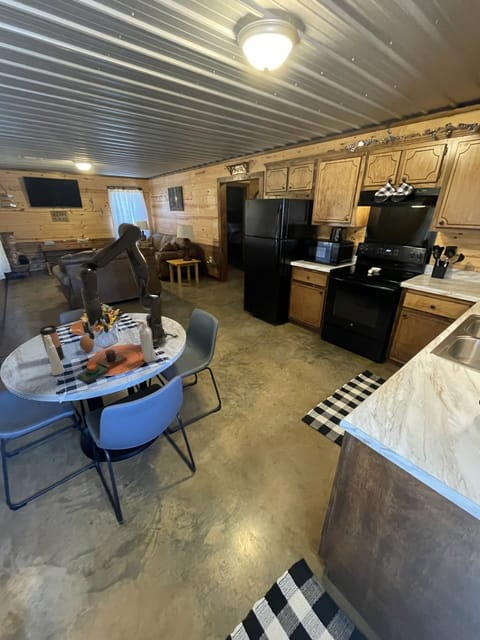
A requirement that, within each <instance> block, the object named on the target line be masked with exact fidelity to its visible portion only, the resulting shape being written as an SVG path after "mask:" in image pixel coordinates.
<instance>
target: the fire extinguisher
mask: <svg viewBox="0 0 480 640" xmlns="http://www.w3.org/2000/svg"><path fill="white" fill-rule="evenodd" d="M134 323H136V324H137V326H136V329H137V331H138V335H139V339H140V340H139V341H140V346H141V353H142V359H143V362H145V363H150V362H151V363H152V362H153V361H155V362H156V361H158V360H159V358H158V356H157V355H156V353H155V349H154V347H153V342H152V331H151V328H149V327H148V326H147V322H146V319H139V318H137V319H134ZM148 328H149V329H148Z"/></svg>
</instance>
